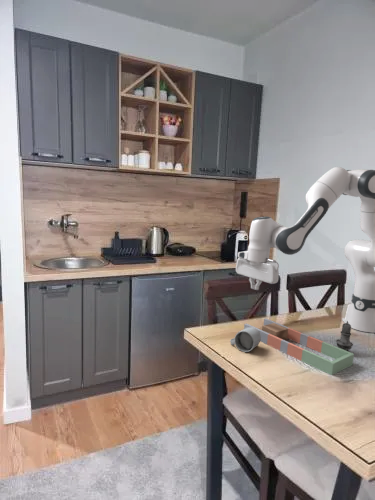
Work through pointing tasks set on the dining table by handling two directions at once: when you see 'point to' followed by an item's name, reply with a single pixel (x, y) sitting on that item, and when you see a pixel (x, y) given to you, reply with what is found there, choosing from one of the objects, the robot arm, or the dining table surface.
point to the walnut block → (276, 330)
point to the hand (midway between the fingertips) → (254, 289)
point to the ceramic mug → (246, 339)
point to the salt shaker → (345, 338)
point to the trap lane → (323, 364)
